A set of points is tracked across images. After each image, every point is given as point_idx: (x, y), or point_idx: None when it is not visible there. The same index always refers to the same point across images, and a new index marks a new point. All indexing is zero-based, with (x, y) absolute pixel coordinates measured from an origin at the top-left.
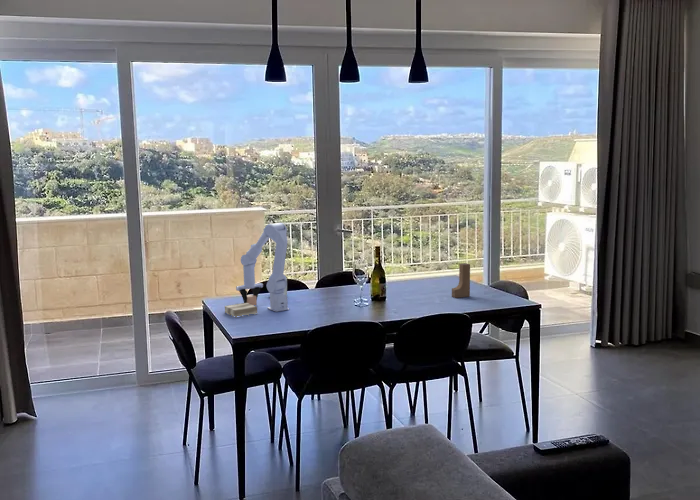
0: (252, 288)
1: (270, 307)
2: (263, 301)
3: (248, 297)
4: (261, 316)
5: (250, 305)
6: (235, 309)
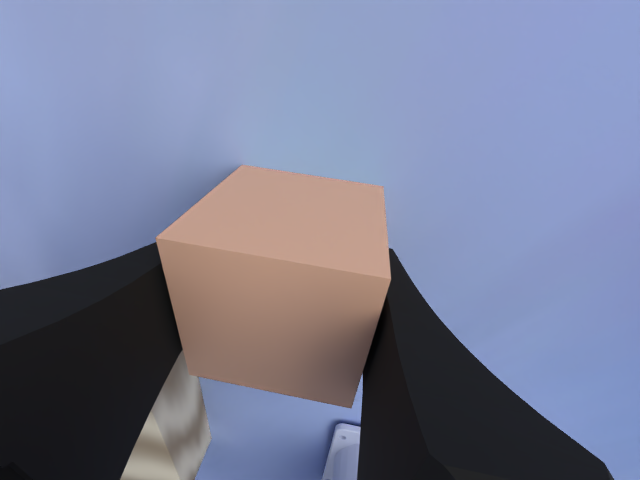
0: (426, 477)
1: (338, 458)
2: (604, 203)
3: (205, 371)
4: (210, 466)
5: (155, 461)
6: None
